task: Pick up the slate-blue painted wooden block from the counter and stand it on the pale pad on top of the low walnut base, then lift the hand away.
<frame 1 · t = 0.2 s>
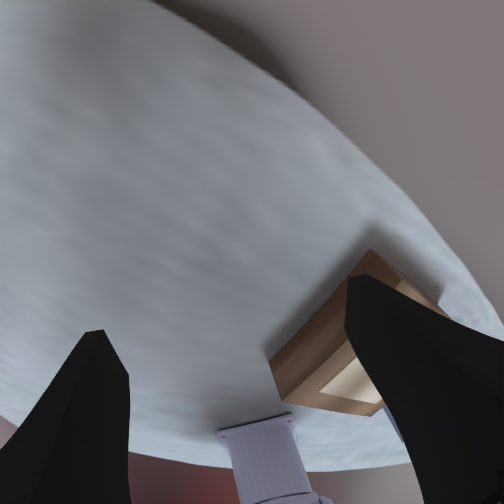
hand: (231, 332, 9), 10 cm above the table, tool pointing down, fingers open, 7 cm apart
walnut base: (363, 333, 26), on the table
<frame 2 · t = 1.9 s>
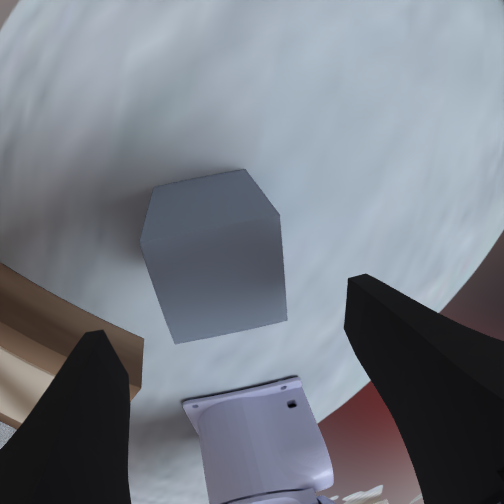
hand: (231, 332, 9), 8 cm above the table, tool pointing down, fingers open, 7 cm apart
walnut base: (38, 353, 18), on the table
block: (207, 219, 16), on the table
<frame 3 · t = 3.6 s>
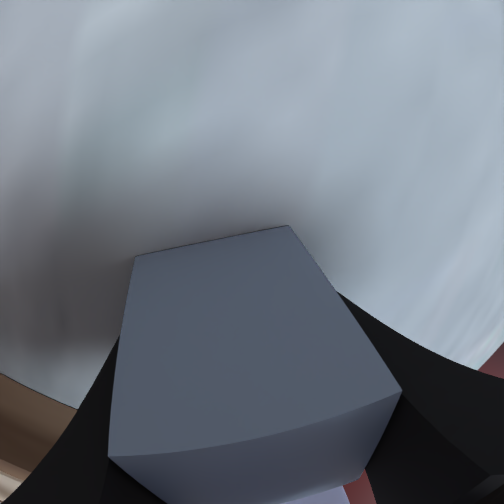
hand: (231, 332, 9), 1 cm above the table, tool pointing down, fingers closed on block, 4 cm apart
walnut base: (14, 432, 12), on the table
block: (224, 302, 10), on the table, touching gripper
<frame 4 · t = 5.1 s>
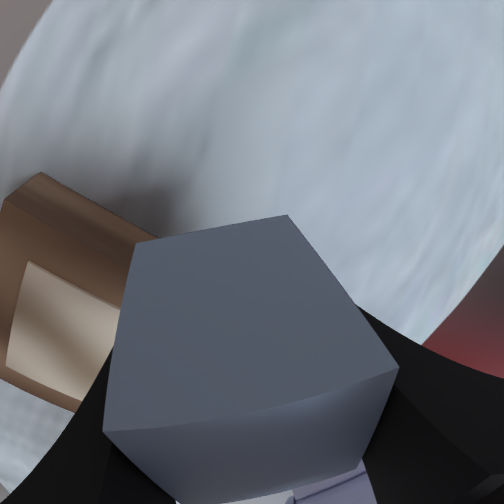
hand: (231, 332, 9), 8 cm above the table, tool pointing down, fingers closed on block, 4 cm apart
walnut base: (94, 306, 17), on the table
block: (223, 291, 10), point 7 cm above the table, touching gripper
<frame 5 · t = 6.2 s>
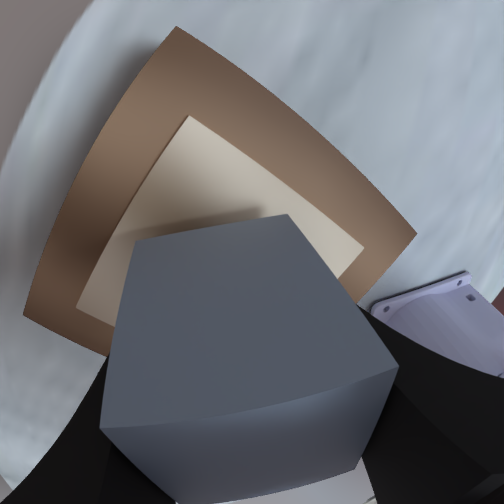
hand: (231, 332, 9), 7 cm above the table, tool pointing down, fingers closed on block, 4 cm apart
walnut base: (209, 230, 15), on the table
block: (222, 290, 10), point 5 cm above the table, touching gripper
when the fingers open (7 cm above the table, at t = 6.8 s): block drops 1 cm, resting on walnut base.
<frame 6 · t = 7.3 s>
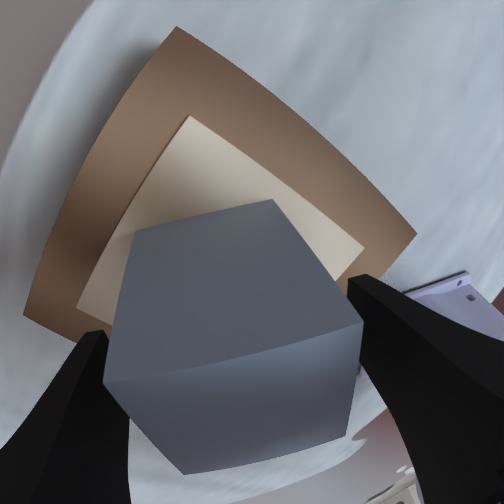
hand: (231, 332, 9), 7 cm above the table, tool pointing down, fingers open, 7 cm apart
gable box: (395, 496, 72), on the table
walnut base: (209, 230, 15), on the table
block: (217, 272, 11), point 4 cm above the table, touching walnut base
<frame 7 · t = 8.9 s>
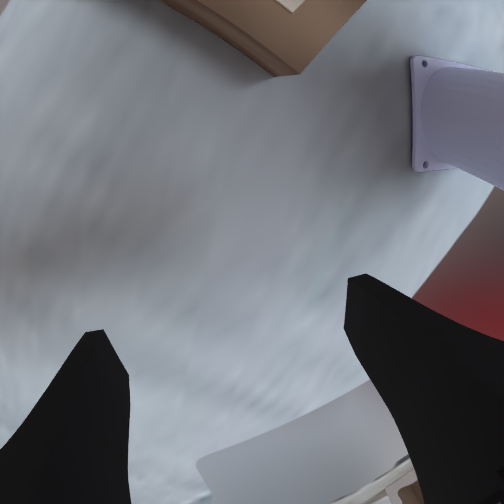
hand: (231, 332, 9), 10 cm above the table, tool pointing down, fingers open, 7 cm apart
gable box: (420, 467, 68), on the table
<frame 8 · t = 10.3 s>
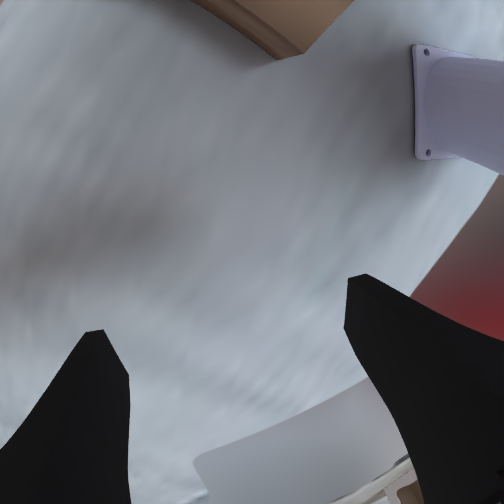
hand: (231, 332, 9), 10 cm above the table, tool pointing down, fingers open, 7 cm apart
gable box: (419, 467, 68), on the table
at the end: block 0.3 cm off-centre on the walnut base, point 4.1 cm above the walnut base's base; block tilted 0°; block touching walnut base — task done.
